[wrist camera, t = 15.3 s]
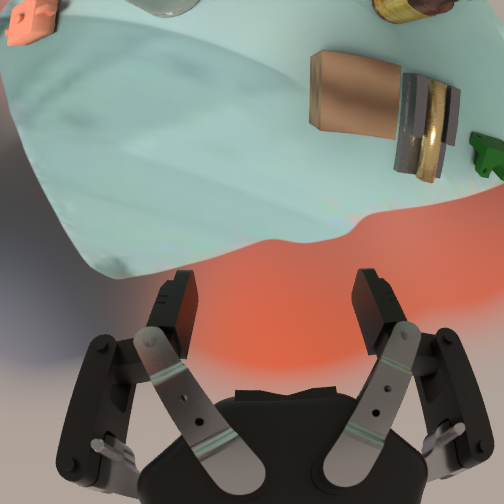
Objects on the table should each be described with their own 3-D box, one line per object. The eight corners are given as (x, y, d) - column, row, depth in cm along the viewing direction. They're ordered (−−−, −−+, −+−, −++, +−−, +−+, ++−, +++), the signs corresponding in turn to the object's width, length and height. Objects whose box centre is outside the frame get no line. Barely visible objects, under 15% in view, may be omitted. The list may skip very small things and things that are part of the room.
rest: (403, 73, 29) (416, 73, 26) (447, 87, 29) (461, 90, 26) (393, 169, 38) (404, 177, 35) (435, 175, 38) (447, 183, 35)
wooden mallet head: (310, 56, 30) (322, 50, 23) (377, 67, 29) (400, 65, 23) (309, 122, 35) (320, 130, 29) (373, 129, 35) (395, 139, 29)
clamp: (458, 150, 39) (469, 173, 33) (466, 124, 34) (479, 143, 29) (503, 170, 35) (517, 194, 30) (512, 146, 30) (528, 168, 25)
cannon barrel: (423, 78, 28) (435, 80, 25) (438, 83, 28) (450, 85, 25) (412, 174, 37) (422, 181, 34) (426, 176, 37) (437, 183, 34)
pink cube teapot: (25, 16, 20) (-3, 16, 13) (71, -7, 20) (42, -14, 13) (21, 50, 24) (-8, 53, 17) (65, 29, 24) (35, 27, 17)
